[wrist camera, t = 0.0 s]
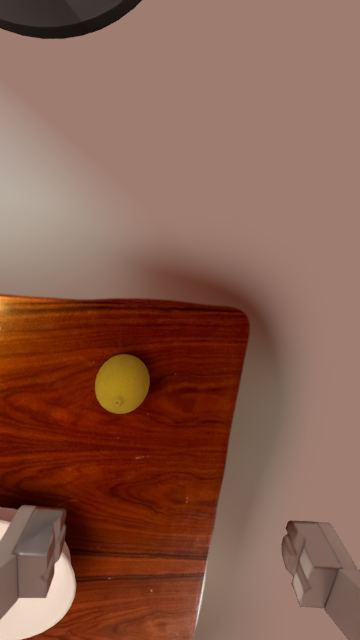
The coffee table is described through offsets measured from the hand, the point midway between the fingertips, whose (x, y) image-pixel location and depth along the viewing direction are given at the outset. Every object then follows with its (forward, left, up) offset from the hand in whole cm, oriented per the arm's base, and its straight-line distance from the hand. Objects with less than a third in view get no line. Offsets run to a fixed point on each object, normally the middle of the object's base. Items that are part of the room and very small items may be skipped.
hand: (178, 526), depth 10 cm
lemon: (+7, 0, -24) cm, 25 cm away
